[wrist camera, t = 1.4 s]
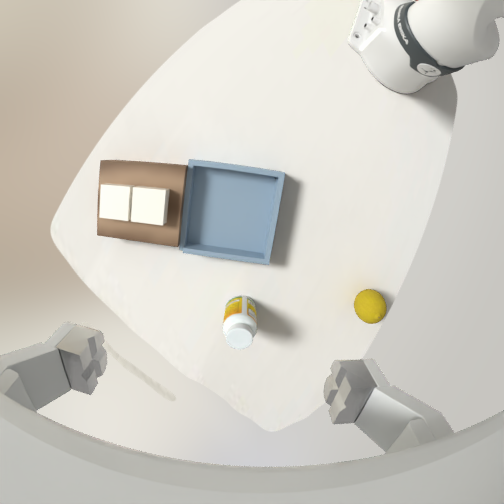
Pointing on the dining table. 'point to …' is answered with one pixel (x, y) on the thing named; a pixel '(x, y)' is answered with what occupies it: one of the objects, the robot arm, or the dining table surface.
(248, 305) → the supplement bottle
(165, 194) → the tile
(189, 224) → the box
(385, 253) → the dining table surface
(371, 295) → the lemon
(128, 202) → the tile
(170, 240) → the flat wooden block
